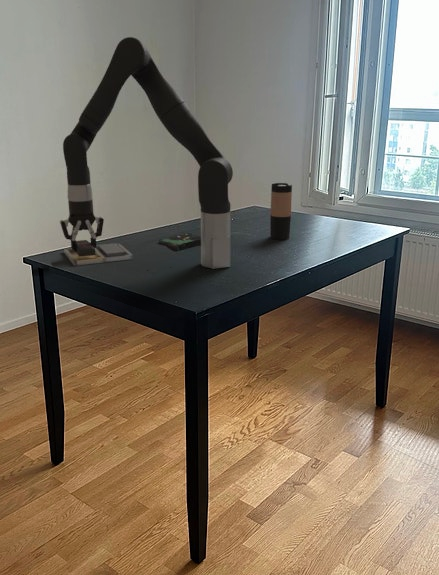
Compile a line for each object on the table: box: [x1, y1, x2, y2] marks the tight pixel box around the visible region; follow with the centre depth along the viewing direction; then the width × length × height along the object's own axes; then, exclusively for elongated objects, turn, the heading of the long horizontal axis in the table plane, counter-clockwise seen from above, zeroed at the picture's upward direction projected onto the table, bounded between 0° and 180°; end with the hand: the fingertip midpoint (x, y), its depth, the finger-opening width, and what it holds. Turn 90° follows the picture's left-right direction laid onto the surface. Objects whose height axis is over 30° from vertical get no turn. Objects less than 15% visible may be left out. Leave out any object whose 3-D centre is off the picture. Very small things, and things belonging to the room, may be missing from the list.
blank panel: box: [97, 242, 125, 258], centre depth 193 cm, size 12×6×2 cm, turn 25°
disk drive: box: [158, 232, 201, 252], centre depth 210 cm, size 10×3×15 cm
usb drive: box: [76, 239, 96, 257], centre depth 189 cm, size 5×12×3 cm, turn 22°
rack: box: [63, 242, 134, 267], centre depth 191 cm, size 17×19×2 cm
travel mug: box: [269, 182, 293, 241], centre depth 217 cm, size 8×8×20 cm
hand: (84, 250), depth 189 cm, fingers closed on usb drive, 5 cm apart
